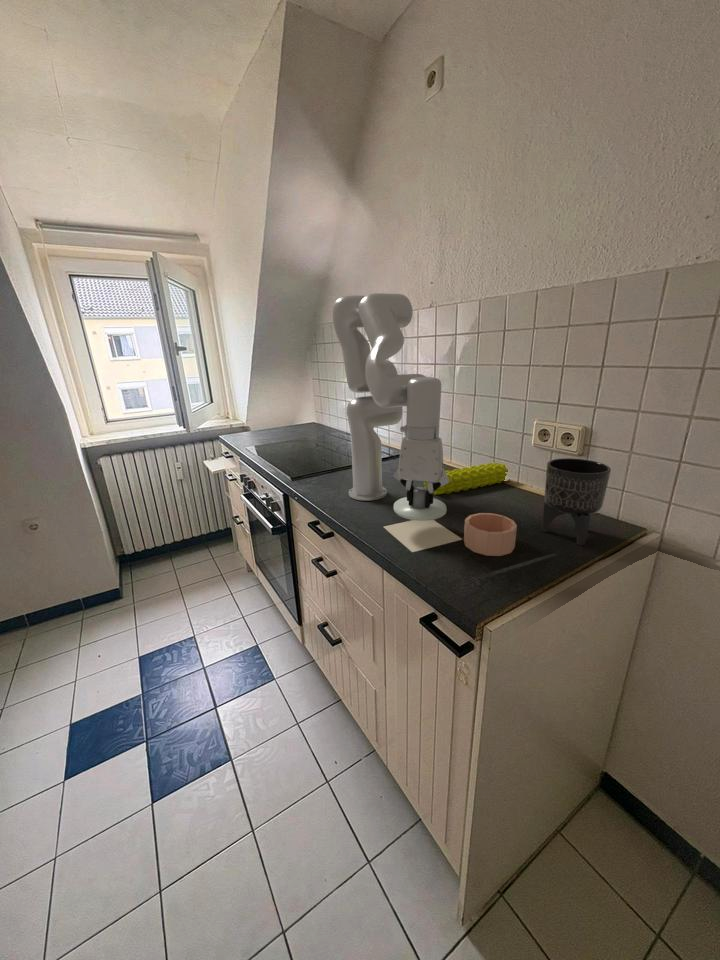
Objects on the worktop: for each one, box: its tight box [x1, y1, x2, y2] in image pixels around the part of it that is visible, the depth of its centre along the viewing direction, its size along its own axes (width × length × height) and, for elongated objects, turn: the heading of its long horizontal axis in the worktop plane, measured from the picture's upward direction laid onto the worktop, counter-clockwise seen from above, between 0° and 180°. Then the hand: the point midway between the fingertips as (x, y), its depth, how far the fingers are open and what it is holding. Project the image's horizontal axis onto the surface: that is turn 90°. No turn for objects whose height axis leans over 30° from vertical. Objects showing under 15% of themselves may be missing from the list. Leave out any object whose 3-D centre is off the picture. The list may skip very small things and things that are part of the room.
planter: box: [541, 457, 612, 546], centre depth 90 cm, size 13×13×18 cm
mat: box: [383, 520, 464, 553], centre depth 95 cm, size 15×14×1 cm
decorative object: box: [423, 461, 508, 496], centre depth 126 cm, size 7×33×7 cm, turn 114°
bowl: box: [463, 512, 518, 557], centre depth 88 cm, size 11×11×6 cm
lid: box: [393, 486, 447, 521], centre depth 93 cm, size 13×13×5 cm
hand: (419, 504), depth 93 cm, fingers closed on lid, 3 cm apart
